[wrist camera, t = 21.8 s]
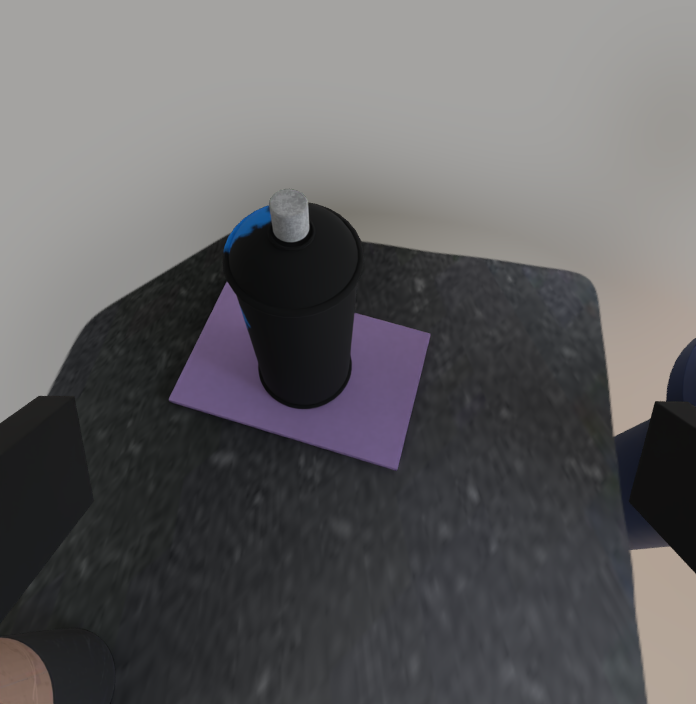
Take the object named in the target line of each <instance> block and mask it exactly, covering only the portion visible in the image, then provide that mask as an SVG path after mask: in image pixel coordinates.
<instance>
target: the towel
mask: <svg viewBox="0 0 696 704" xmlns="http://www.w3.org/2000/svg"><path fill="white" fill-rule="evenodd" d="M430 335H431V334H430V333H426V332H422V331H419V330H415V329H411V328H408V327H404V326H401V325H397V324H393V323H390V322H386V321H382V320H379V319H375V318H372V317H368V316H364V315H361V314H357V313H354V323H353V333H352V343H351V353H350V355H351V359H352V371H351V376H350V379H349V381H348V384H347V386H346V387H345V389H344V390H343V391H342V393H341V394H340V395H338V396H337V397H336V398H335V399H334V400H332V401H331V402H329V403H327V404H325V405H323V406H320V407H317V408H311V409H297V408H292V407H288V406H286V405H283V404H281V403H279V402H278V401H276V400H275V399H273V398H272V397H271V396H270V395H269V394H268V393H267V392H266V390H265V388H264V387H263V385H262V383H261V380H260V377H259V372H258V361H257V358H256V355H255V352H254V349H253V345H252V342H251V339H250V336H249V333H248V330H247V327H246V324H245V321H244V317H243V314H242V311H241V308H240V305H239V302H238V299H237V296H236V294H235V293H234V291H233V290H232V288H231V287H230V285H229V284H228V282H226V284H225V286H224V288H223V290H222V292H221V294H220V296H219V298H218V300H217V302H216V305H215V307H214V309H213V311H212V313H211V315H210V317H209V319H208V321H207V323H206V325H205V327H204V329H203V331H202V333H201V335H200V337H199V339H198V341H197V343H196V345H195V347H194V349H193V351H192V353H191V355H190V357H189V359H188V361H187V363H186V365H185V367H184V369H183V371H182V373H181V375H180V377H179V379H178V381H177V383H176V385H175V387H174V390H173V392H172V394H171V396H170V398H169V401H170V402H172V403H175V404H178V405H182V406H185V407H188V408H191V409H195V410H198V411H201V412H205V413H208V414H211V415H214V416H218V417H221V418H224V419H228V420H231V421H234V422H238V423H241V424H244V425H247V426H251V427H254V428H257V429H261V430H264V431H267V432H270V433H274V434H277V435H280V436H284V437H287V438H290V439H293V440H297V441H300V442H303V443H307V444H310V445H313V446H316V447H320V448H323V449H326V450H330V451H333V452H336V453H339V454H343V455H346V456H349V457H353V458H356V459H359V460H362V461H366V462H369V463H372V464H376V465H379V466H382V467H385V468H389V469H392V470H395V471H396V470H397V469H398V465H399V461H400V457H401V453H402V449H403V445H404V440H405V436H406V432H407V428H408V424H409V420H410V416H411V412H412V408H413V404H414V400H415V396H416V392H417V388H418V384H419V380H420V376H421V372H422V368H423V364H424V359H425V355H426V351H427V347H428V343H429V339H430Z"/></svg>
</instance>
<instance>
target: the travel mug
mask: <svg viewBox="0 0 696 704" xmlns="http://www.w3.org/2000/svg"><path fill="white" fill-rule="evenodd" d="M114 687H115V665H114V661H113V657H112V655H111V652H110V650H109V648H108V647H107V645H106V644H105V643H104V641H103V640H102V639H101V638H99V637H98V636H97V635H95V634H94V633H92V632H90V631H87V630H84V629H78V628H65V629H55V630H47V631H39V632H31V633H22V634H14V635H6V636H0V704H110V702H111V700H112V696H113V692H114Z"/></svg>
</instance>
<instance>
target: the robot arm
mask: <svg viewBox="0 0 696 704" xmlns="http://www.w3.org/2000/svg"><path fill="white" fill-rule="evenodd" d="M93 501H94V499H93V494H92V489H91V483H90V478H89V473H88V467H87V462H86V456H85V451H84V446H83V440H82V435H81V430H80V424H79V419H78V414H77V408H76V403H75V398H74V396H38V397H37V398H35V399H34V400H32V401H31V402H30V403H28V404H27V405H25V406H24V407H23V408H21V409H20V410H18V411H17V412H16V413H14V414H13V415H11V416H10V417H8V418H7V419H6V420H4V421H3V422H1V423H0V623H1V622H2V620H3V619H4V618H5V616H6V615H7V614H8V612H9V611H10V610H11V609H12V607H13V606H14V605H15V603H16V602H17V601H18V599H19V598H20V597H21V595H22V594H23V593H24V592H25V590H26V589H27V588H28V586H29V585H30V584H31V582H32V581H33V580H34V578H35V577H36V576H37V575H38V573H39V572H40V571H41V569H42V568H43V567H44V565H45V564H46V563H47V561H48V560H49V559H50V558H51V556H52V555H53V554H54V552H55V551H56V550H57V548H58V547H59V546H60V544H61V543H62V542H63V541H64V539H65V538H66V537H67V535H68V534H69V533H70V531H71V530H72V529H73V527H74V526H75V525H76V524H77V522H78V521H79V520H80V518H81V517H82V516H83V514H84V513H85V512H86V510H87V509H88V508H89V507H90V505H91V504H92V503H93ZM629 503H630V504H631V505H632V506H633V507H634V508H635V509H636V510H637V511H638V512H639V513H640V514H641V515H642V517H643V518H644V519H645V520H646V521H647V522H648V523H649V524H650V525H651V526H652V527H653V528H654V529H655V530H656V532H657V533H658V534H659V535H660V536H661V537H662V538H663V539H664V540H665V541H666V542H667V543H668V544H669V545H670V547H671V548H672V549H673V550H674V551H675V552H676V553H677V554H678V555H679V556H680V557H681V558H682V559H683V560H684V562H686V563H687V565H688V566H689V567H690V568H691V569H692V570H693V571H694V572H695V573H696V407H695V406H694V405H692V404H690V403H689V402H663V401H662V402H661V401H660V402H659V401H656V402H655V404H654V408H653V412H652V415H651V419H650V423H649V427H648V430H647V434H646V438H645V442H644V446H643V449H642V453H641V457H640V461H639V465H638V468H637V472H636V476H635V480H634V484H633V487H632V491H631V495H630V499H629Z"/></svg>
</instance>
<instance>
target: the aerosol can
mask: <svg viewBox="0 0 696 704" xmlns="http://www.w3.org/2000/svg"><path fill="white" fill-rule="evenodd" d="M363 266H364V251H363V247H362V243H361V240H360V238H359V236H358V234H357V232H356V230H355V229H354V228H353V227H352V226H351V224H350V223H349V222H348V221H347V220H346V219H344V218H343V217H342V216H341V215H340V214H338V213H336V212H334V211H332V210H331V209H329V208H326V207H323V206H320V205H318V204H313V203H308V200H307V198H306V196H305V195H304V194H303V193H301V192H300V191H297V190H294V189H284V190H280V191H278V192H276V193H275V194H274V195H273V196H272V197H271V198H270V201H269V206H265V207H263V208H261V209H259V210H256V211H254V212H253V213H251V214H250V215H248V216H247V217H245V218H244V219H243V220H242V221H241V222H240V223H239V224H238V225H237V226H236V227H235V228H234V229H233V231H232V232H231V234H230V235H229V237H228V239H227V242H226V244H225V247H224V253H223V270H224V274H225V277H226V279H227V282H228V284H229V285H230V287H231V288H232V290H233V291H234V293H235V294H236V296H237V299H238V302H239V305H240V308H241V311H242V314H243V317H244V321H245V324H246V327H247V330H248V333H249V336H250V339H251V342H252V345H253V349H254V352H255V355H256V358H257V361H258V372H259V377H260V380H261V383H262V385H263V387H264V388H265V390H266V392H267V393H268V394H269V395H270V396H271V397H272V398H273V399H275V400H276V401H278V402H279V403H281V404H283V405H286V406H288V407H292V408H297V409H311V408H317V407H320V406H323V405H325V404H327V403H329V402H331V401H332V400H334V399H335V398H336V397H337V396H338V395H340V394H341V393H342V391H343V390H344V389H345V387H346V386H347V384H348V381H349V379H350V376H351V371H352V359H351V355H350V353H351V343H352V333H353V323H354V313H355V303H356V293H357V283H358V281H359V279H360V277H361V275H362V271H363Z"/></svg>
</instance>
